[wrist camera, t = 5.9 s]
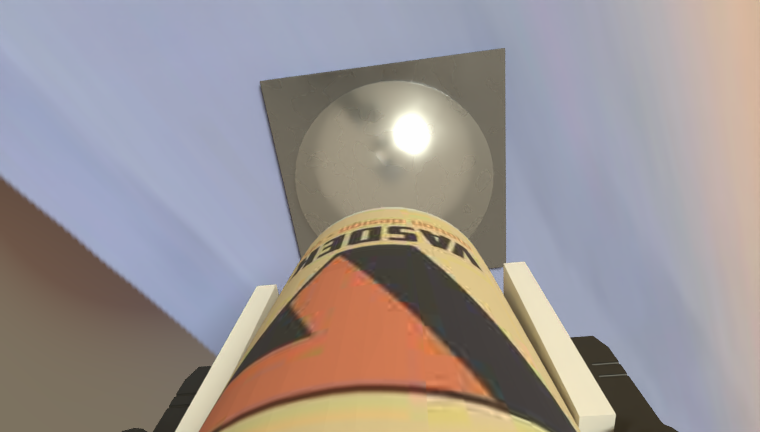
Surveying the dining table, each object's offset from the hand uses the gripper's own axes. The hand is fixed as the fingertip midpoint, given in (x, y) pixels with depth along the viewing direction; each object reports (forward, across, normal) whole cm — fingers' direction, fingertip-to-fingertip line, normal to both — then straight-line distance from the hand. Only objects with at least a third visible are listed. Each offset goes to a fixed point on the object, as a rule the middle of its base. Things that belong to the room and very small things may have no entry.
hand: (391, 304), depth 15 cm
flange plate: (+15, 0, 0) cm, 15 cm away
